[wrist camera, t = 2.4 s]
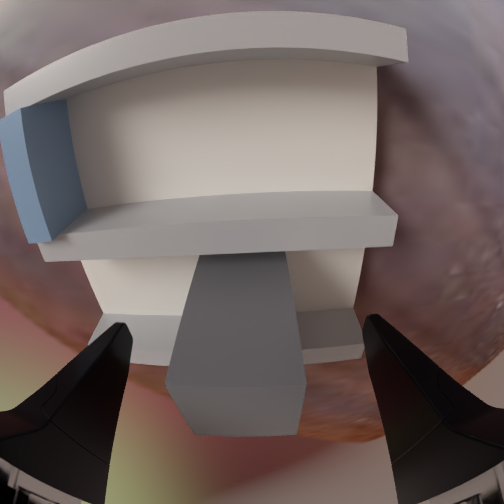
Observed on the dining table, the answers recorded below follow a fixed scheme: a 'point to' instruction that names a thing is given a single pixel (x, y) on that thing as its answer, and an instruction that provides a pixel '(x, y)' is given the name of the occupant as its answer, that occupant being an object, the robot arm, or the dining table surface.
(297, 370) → the plug
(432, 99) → the dining table surface
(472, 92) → the dining table surface
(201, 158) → the white compartment tray
